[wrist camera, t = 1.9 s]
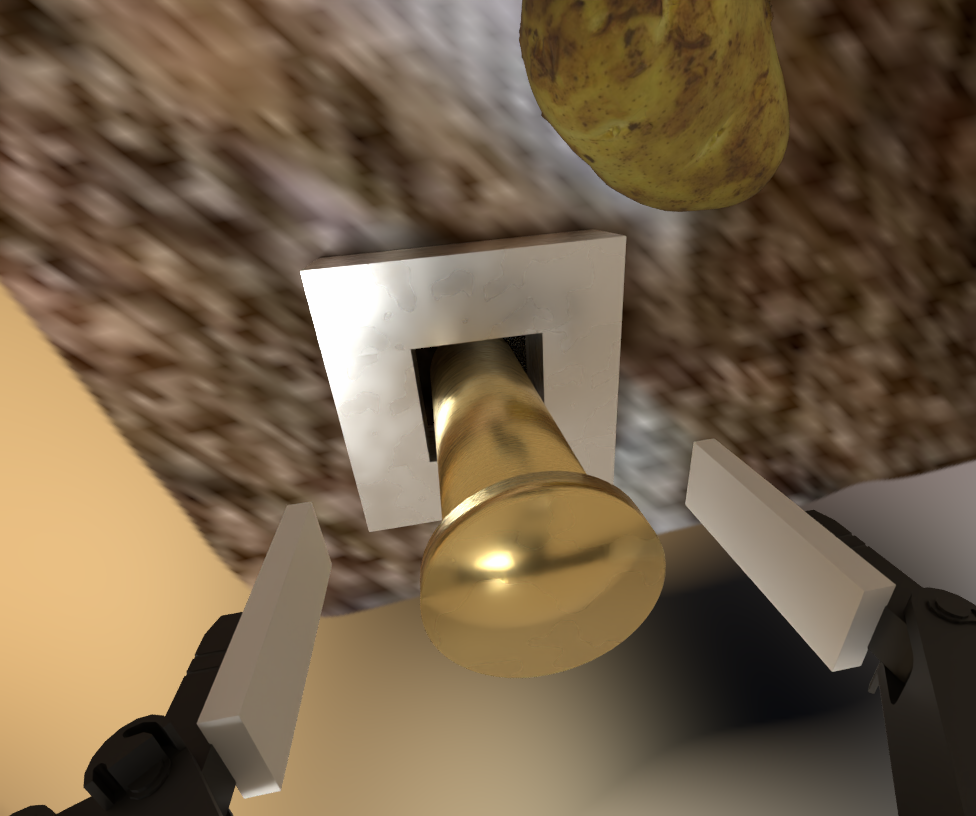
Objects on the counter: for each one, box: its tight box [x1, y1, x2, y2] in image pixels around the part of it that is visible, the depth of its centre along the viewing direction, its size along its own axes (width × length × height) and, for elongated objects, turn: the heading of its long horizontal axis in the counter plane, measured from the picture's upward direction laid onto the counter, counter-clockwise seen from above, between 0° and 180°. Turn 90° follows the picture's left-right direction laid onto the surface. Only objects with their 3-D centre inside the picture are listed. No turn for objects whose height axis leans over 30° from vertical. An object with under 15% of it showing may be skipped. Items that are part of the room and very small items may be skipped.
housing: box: [300, 229, 626, 532], centre depth 24 cm, size 14×14×4 cm
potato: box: [519, 0, 790, 212], centre depth 17 cm, size 8×13×8 cm, turn 41°
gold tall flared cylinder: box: [420, 338, 666, 678], centre depth 19 cm, size 6×6×16 cm
